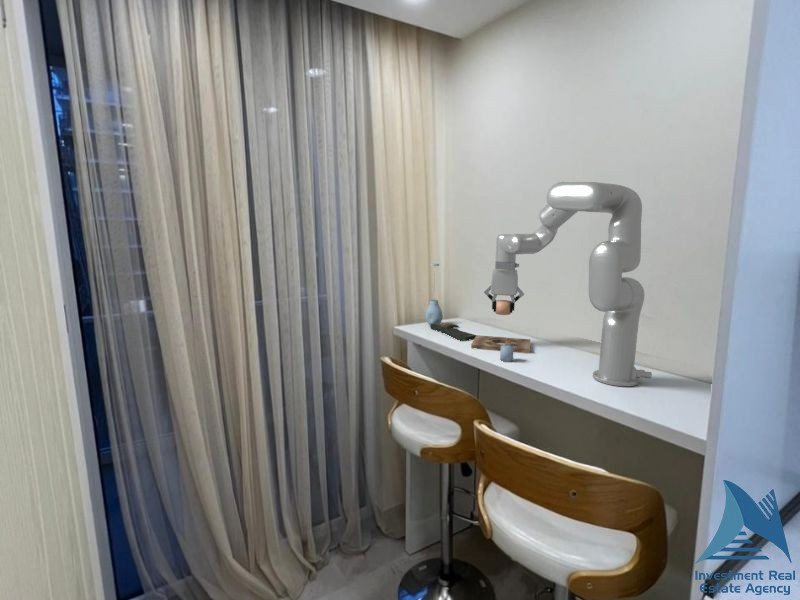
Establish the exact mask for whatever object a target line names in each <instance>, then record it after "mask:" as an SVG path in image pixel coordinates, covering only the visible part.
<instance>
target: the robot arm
mask: <svg viewBox="0 0 800 600" xmlns="http://www.w3.org/2000/svg"><path fill="white" fill-rule="evenodd" d="M545 199H546V203H547V204H546V205H545V206H544V207H543V208H542V209H541V210H540V211H539V214H538V218H539V221H540V222H541V225H540V227H539V228H538V229H536V230H535V231H534V232H532V233H512V234H511V233H509V234H508V233H505V234H504V233H503V234H498V235H497V236H496V241H495V242H496V243H495V244H496V247H495V262H494V263H495V268H494V269H493V270H492V274H491V282H490V285H489V286H488V288H486V289H485V290H484V292H483V293H484V294H485V295H486V297H488V299H489V300H490V301H491V309H492V310H493V313H495V311H496V299H497V297H498V296H505V297H506V296H510V299H511V300H510V301H511V308H510V314H513V311H515V306H516V305H515V303H516V302H517V301H518V300H520V298H522V297H523V296H524V295H525V293H524V292H523V290H522V289H521V288H520V287H519V282H518V281H519V276H518V270H517V269H516V268H519V267H520V263H517V262H516V259H517V257H516V256H517V255H534V254H537V253H539V252H540V251H542V250H543V249H545V248H546V247H548V246H549V244H551V243H552V242H553V241H554V239H555V237H556V236H557V234H558V229H559V228H560V227H561V226H563V225H564V224H565V223H567V221H569V220H570V219H571V218H572V217H573V216H574V215H576V214H577V213H578V212H587V213H588V212H589V213H601V214H602V213H608V214H611V218H610V220H609V223H608V227H607V228H608V229H607V232H608V234H607V235H608V236H607V240H605V241H602V242H599V243H598V244H596V245H595V246H594V247H593V249H592V250H591V252H590V255H589V260H588V297H589V298H588V299H589V301H590V304H591V305H592V307H593V308H595V309H596V310H597V311H599V312H603V313H604V316H603V319H602V320H603V321H602V328H601V336H600V337H601V339H600V349H599V360H598V363H599V364H598V369H597V370H594V371H593V372H592V377H593V379H594V380H595V381H598V382H600V383H602V384H607V385H610V386H616V387H634V386H638V385H639V382H640V381H639V380H640V378H644V379H652V377H653V373H652V371H645V369H637V368H636V367H635V362H636V352H637V342H638V340H637V339H638V332H639V324H640V317H641V312H642V308H643V306H644V302H645V290H644V287H643V285H642V284H641V283H640V282H639V281H638V280H637V279H635V278H632V277H629V276H628V277H624V276H623V274H624V273H629V272H633V271H635V270H636V269H637V268H638V267H639V266H640V263H641V254H642V251H641V250H642V216H643V213H642V212H643V204H642V200H641V198H640V196H639V194H638V193H637V192H636V191H635V190H634V189H632V188H630V187H628V186H624V185H621V184H615V183H605V182H595V181H558V182H556V183H555V184H553V185H552V186H550V188H549V189H548V191H547V193H546V198H545ZM517 294H518V295H517Z"/></svg>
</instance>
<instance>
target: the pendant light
mask: <svg viewBox="0 0 800 600" xmlns="http://www.w3.org/2000/svg"><path fill="white" fill-rule="evenodd" d="M439 266H440V263H430V267H439ZM433 275H434V277H433V278H434V281H433V282H434V283H433V284H434V285H433V288H434V289H433V291H435V283H436V281H435V280H436V279H435V278H436V272H434V274H433ZM424 319H425V321H426V323H427V325H431V324H435V325H440V324H441V323H442V321H443V310H442V309H441V307H440V305H439V300H438V299H431V300H430V301H429V304H428V306H427V308H426V310H425V318H424Z"/></svg>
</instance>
